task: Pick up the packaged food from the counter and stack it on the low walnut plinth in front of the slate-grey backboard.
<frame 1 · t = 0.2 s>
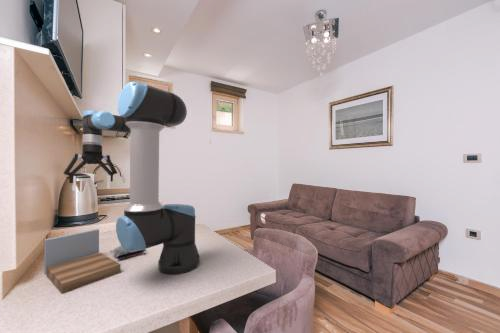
hand: (92, 189, 99), 27 cm above the countertop, fingers open, 13 cm apart
backboard: (73, 265, 81), on the countertop
plinth: (84, 274, 74), on the countertop
packaged food: (128, 256, 91), on the countertop
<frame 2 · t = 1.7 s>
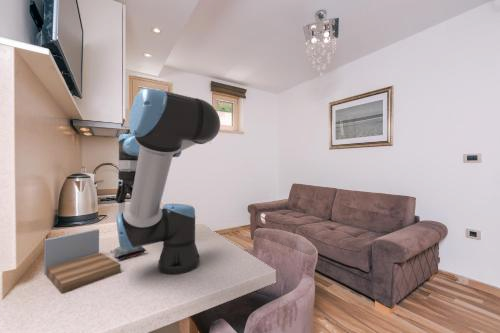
hand: (128, 219, 91), 15 cm above the countertop, fingers open, 13 cm apart
nothing on the countertop moved.
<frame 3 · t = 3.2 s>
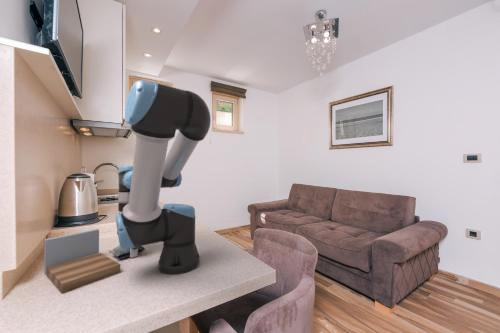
hand: (128, 254, 91), 0 cm above the countertop, fingers closed on packaged food, 9 cm apart
packaged food: (127, 255, 91), on the countertop, touching gripper
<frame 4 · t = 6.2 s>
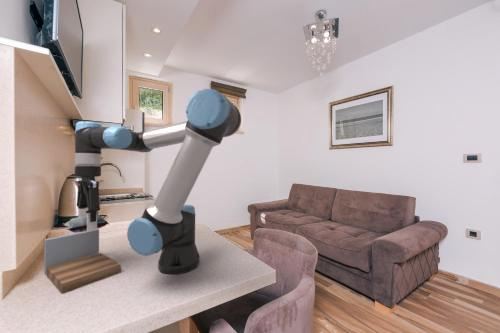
hand: (87, 228, 76), 16 cm above the countertop, fingers closed on packaged food, 9 cm apart
packaged food: (86, 230, 76), point 15 cm above the countertop, touching gripper
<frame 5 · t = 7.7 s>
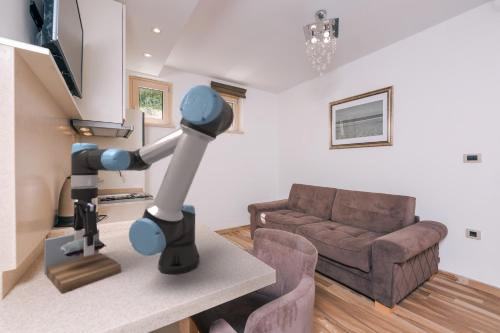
hand: (84, 251, 74), 8 cm above the countertop, fingers closed on packaged food, 9 cm apart
packaged food: (82, 253, 74), point 7 cm above the countertop, touching gripper
when the fingers open (5 cm above the countertop, at t = 8.8 s): packaged food drops 1 cm, resting on plinth.
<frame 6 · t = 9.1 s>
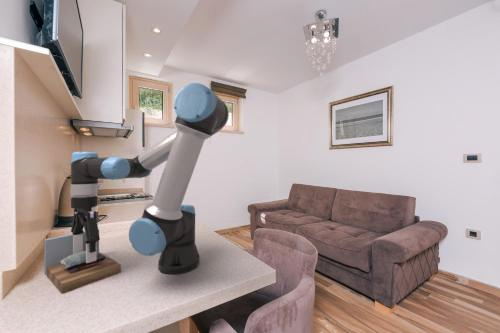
hand: (84, 256, 74), 6 cm above the countertop, fingers open, 13 cm apart
packaged food: (83, 266, 74), point 3 cm above the countertop, touching plinth
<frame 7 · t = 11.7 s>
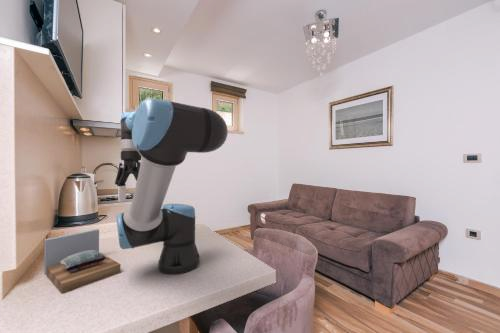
hand: (131, 202, 87), 23 cm above the countertop, fingers open, 13 cm apart
nothing on the countertop moved.
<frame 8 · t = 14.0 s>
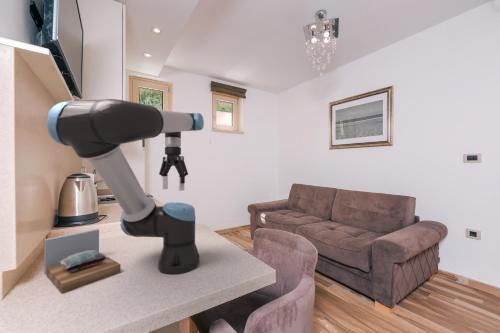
hand: (172, 189, 104), 27 cm above the countertop, fingers open, 13 cm apart
nothing on the countertop moved.
at the end: packaged food inside the target area on the plinth (0.4 cm from its centre), point 2.8 cm above the plinth's base; packaged food touching plinth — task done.
